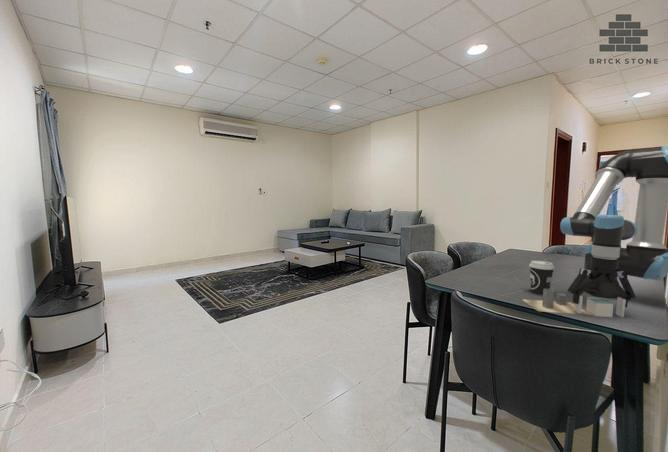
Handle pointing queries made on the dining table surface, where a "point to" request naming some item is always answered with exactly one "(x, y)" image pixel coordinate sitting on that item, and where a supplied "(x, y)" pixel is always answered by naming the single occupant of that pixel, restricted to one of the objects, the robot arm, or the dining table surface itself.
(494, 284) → the dining table surface
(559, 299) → the post short
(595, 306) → the white and green block
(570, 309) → the board
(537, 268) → the coffee cup
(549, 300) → the post tall
